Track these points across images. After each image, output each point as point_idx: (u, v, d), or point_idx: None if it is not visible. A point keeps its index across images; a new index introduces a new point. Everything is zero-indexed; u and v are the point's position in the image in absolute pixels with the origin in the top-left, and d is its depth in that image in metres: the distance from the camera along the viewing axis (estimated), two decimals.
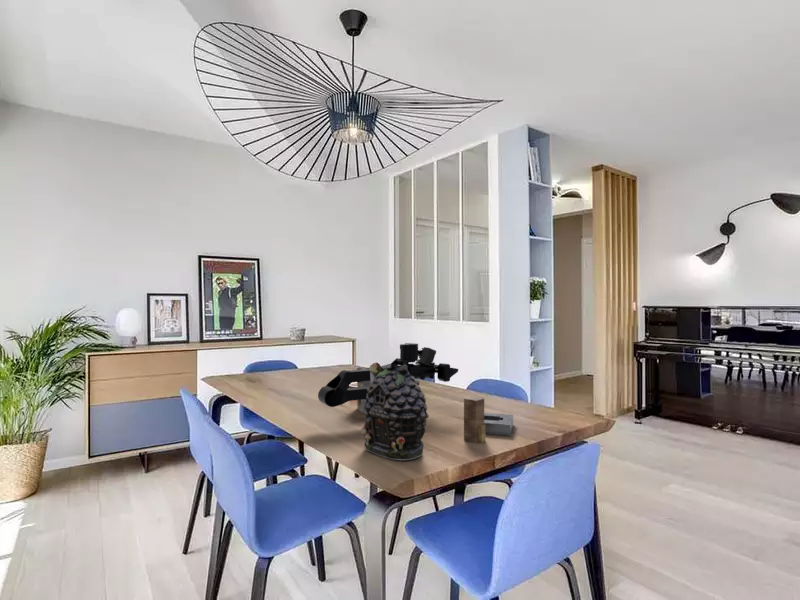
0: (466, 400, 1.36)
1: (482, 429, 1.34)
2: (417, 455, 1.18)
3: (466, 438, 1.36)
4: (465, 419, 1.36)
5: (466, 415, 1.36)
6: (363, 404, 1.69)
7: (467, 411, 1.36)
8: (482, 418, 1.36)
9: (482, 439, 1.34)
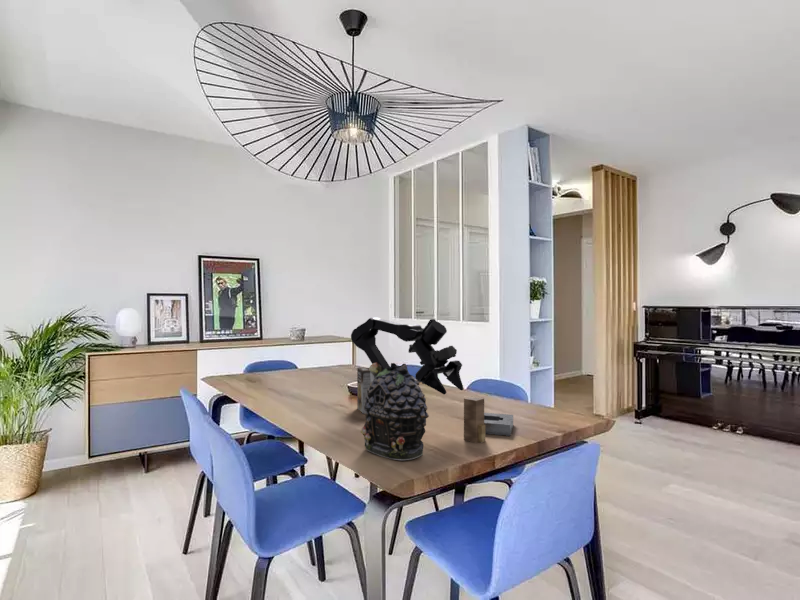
0: (466, 400, 1.36)
1: (482, 429, 1.34)
2: (417, 455, 1.18)
3: (466, 438, 1.36)
4: (465, 419, 1.36)
5: (466, 415, 1.36)
6: (363, 404, 1.69)
7: (467, 411, 1.36)
8: (482, 418, 1.36)
9: (482, 439, 1.34)
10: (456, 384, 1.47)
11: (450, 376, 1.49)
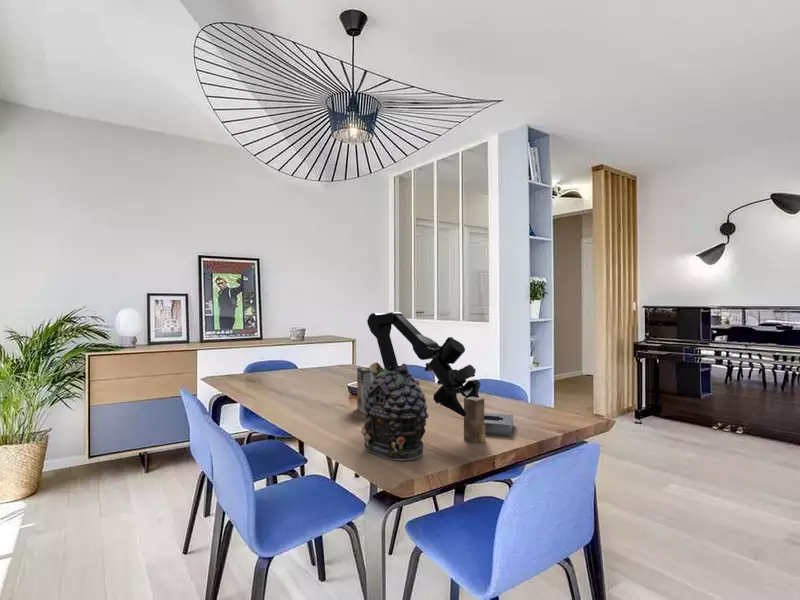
0: (466, 400, 1.36)
1: (482, 429, 1.34)
2: (417, 455, 1.18)
3: (466, 438, 1.36)
4: (465, 419, 1.36)
5: (466, 415, 1.36)
6: (363, 404, 1.69)
7: (467, 411, 1.36)
8: (482, 418, 1.36)
9: (482, 439, 1.34)
10: None
11: (468, 396, 1.44)
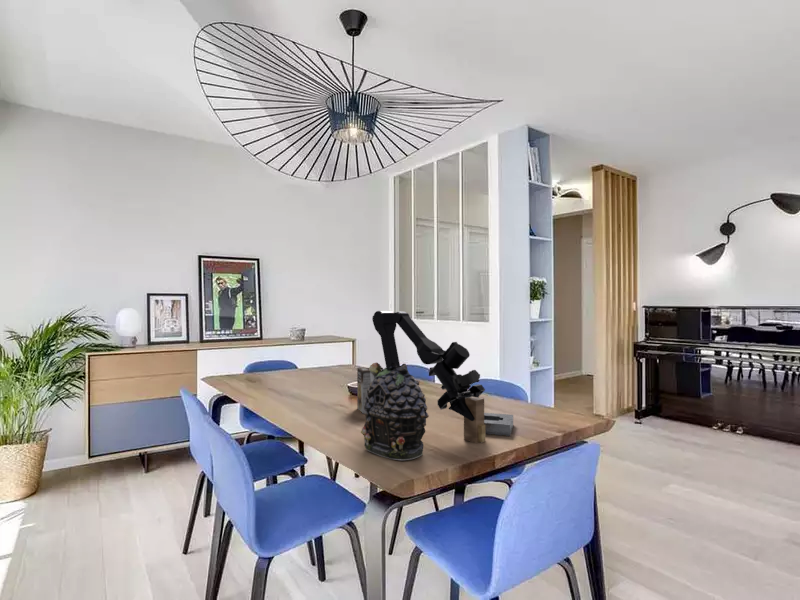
0: (466, 400, 1.36)
1: (482, 429, 1.34)
2: (417, 455, 1.18)
3: (466, 438, 1.36)
4: (465, 419, 1.36)
5: None
6: (363, 404, 1.69)
7: None
8: (482, 418, 1.36)
9: (482, 439, 1.34)
10: None
11: None
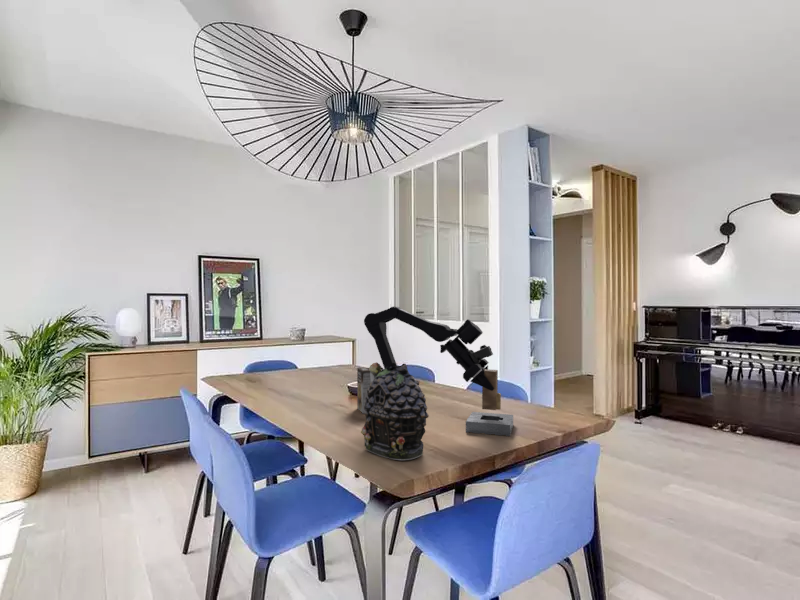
0: (485, 372, 1.47)
1: (500, 397, 1.47)
2: (417, 455, 1.18)
3: (485, 407, 1.47)
4: (484, 390, 1.47)
5: None
6: (363, 404, 1.69)
7: None
8: (497, 388, 1.49)
9: (500, 407, 1.47)
10: None
11: None
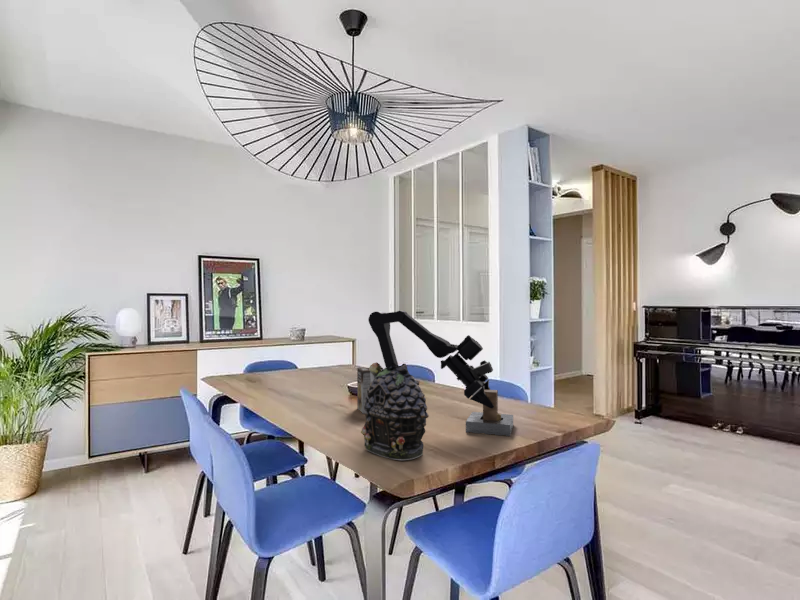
0: (485, 393, 1.48)
1: (500, 418, 1.47)
2: (417, 455, 1.18)
3: None
4: (484, 410, 1.48)
5: (485, 407, 1.48)
6: (363, 404, 1.69)
7: None
8: (497, 408, 1.50)
9: None
10: None
11: None
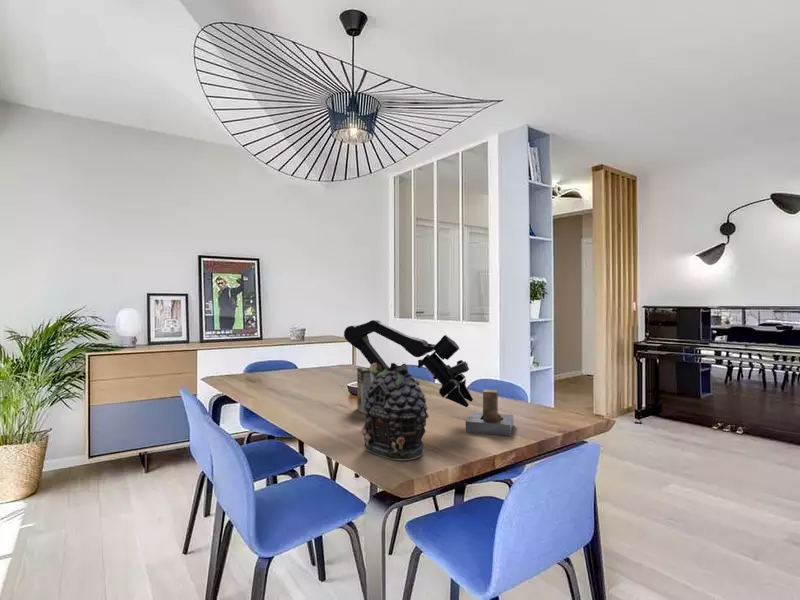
0: (485, 393, 1.48)
1: (500, 418, 1.47)
2: (417, 455, 1.18)
3: None
4: (484, 410, 1.48)
5: (485, 407, 1.48)
6: (363, 404, 1.69)
7: (486, 403, 1.47)
8: (497, 408, 1.50)
9: None
10: (465, 396, 1.56)
11: None
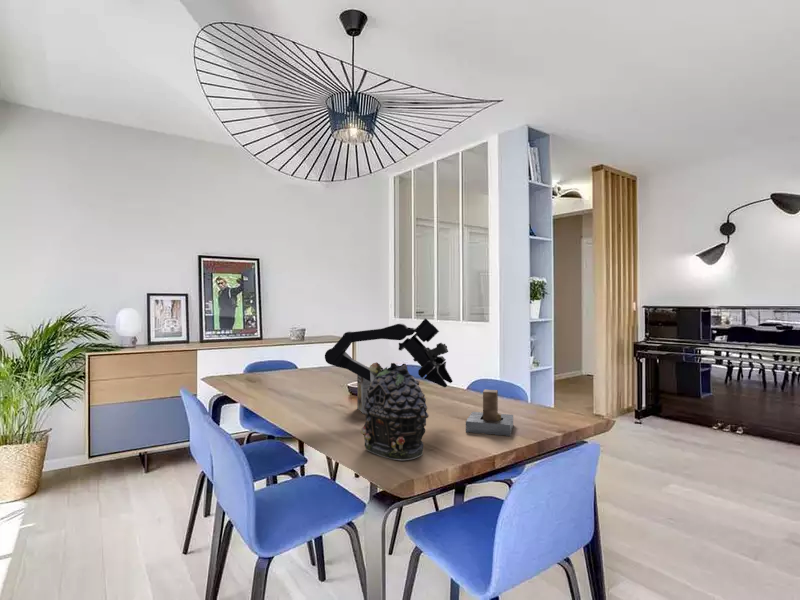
0: (485, 393, 1.48)
1: (500, 418, 1.47)
2: (417, 455, 1.18)
3: None
4: (484, 410, 1.48)
5: (485, 407, 1.48)
6: (363, 404, 1.69)
7: (486, 403, 1.47)
8: (497, 408, 1.50)
9: None
10: (445, 378, 1.60)
11: (437, 371, 1.62)
